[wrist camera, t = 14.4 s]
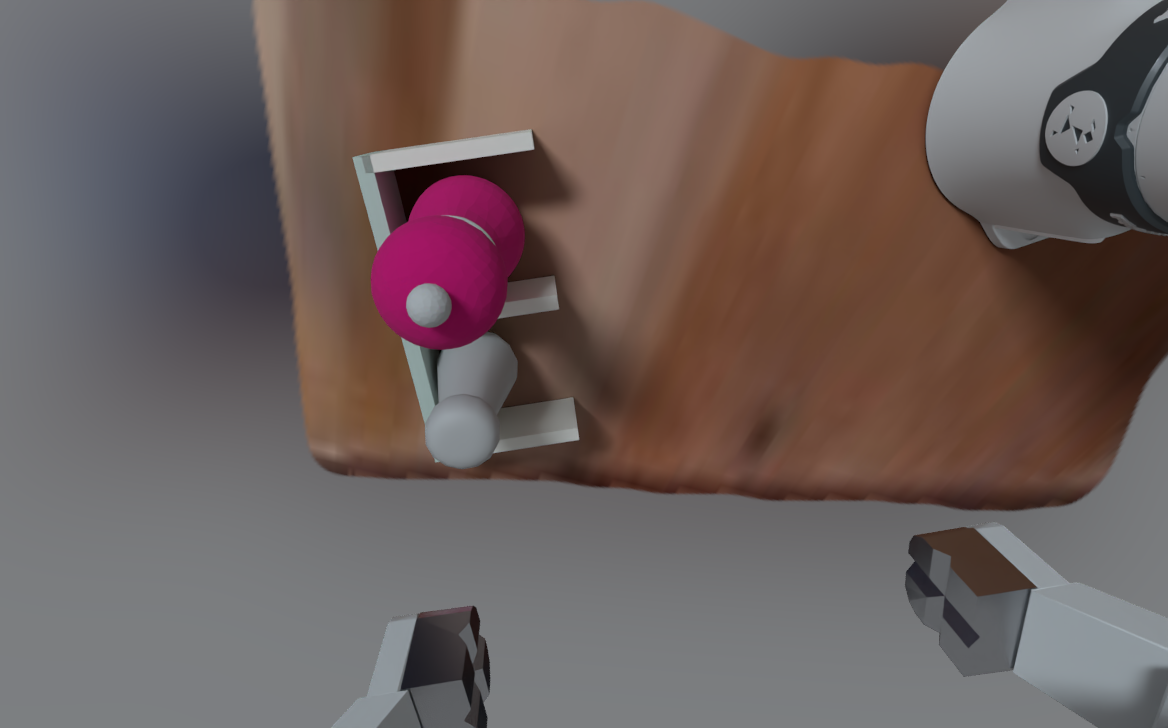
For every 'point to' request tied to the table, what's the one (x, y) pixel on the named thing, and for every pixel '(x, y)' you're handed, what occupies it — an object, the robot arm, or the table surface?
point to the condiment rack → (523, 297)
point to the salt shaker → (470, 401)
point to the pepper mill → (449, 263)
